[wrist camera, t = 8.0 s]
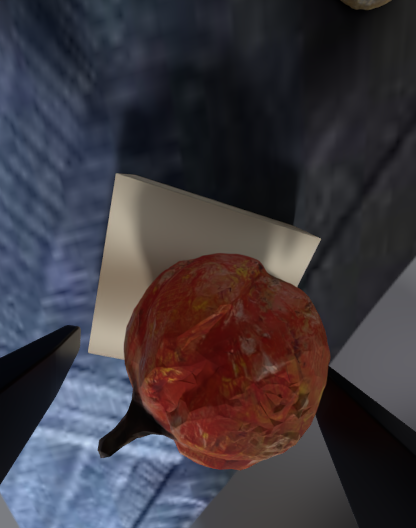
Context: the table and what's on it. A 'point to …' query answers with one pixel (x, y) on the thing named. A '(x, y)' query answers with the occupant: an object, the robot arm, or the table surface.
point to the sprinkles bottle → (365, 3)
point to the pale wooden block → (179, 247)
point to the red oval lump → (222, 363)
